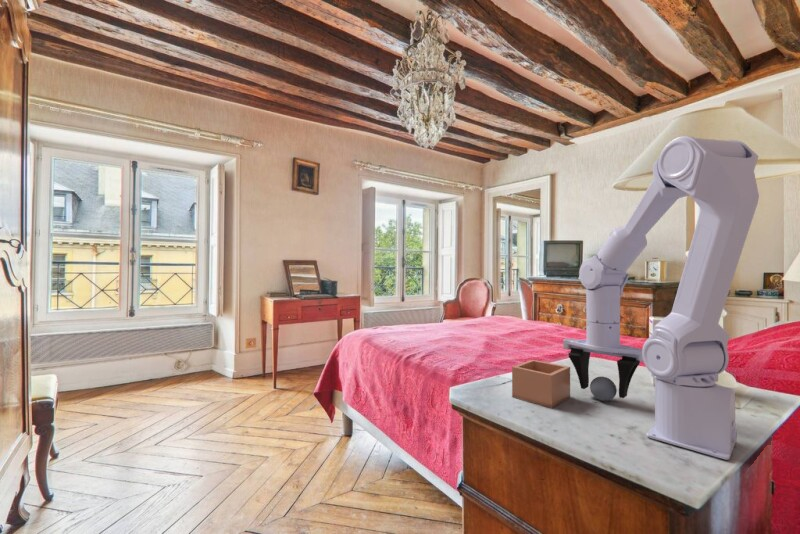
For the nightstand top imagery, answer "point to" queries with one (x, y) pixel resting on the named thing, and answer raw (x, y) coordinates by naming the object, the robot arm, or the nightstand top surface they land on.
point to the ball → (603, 388)
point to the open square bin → (541, 383)
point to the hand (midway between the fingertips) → (603, 391)
